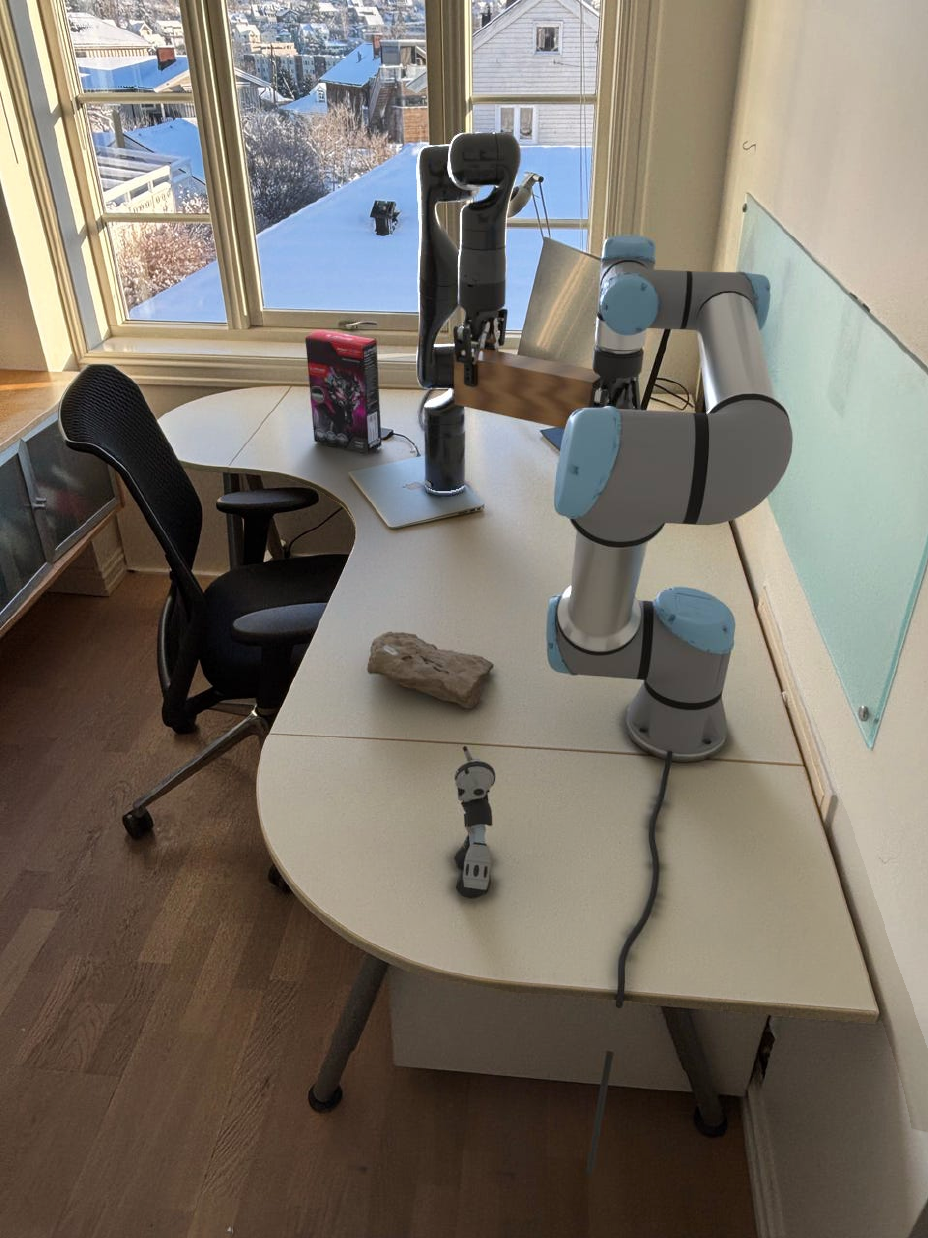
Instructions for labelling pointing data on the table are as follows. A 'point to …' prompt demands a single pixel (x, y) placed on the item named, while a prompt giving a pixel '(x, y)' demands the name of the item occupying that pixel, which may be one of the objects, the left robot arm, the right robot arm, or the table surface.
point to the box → (525, 387)
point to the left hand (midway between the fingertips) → (480, 379)
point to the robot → (474, 825)
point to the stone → (429, 668)
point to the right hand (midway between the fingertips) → (605, 475)
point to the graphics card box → (344, 390)
